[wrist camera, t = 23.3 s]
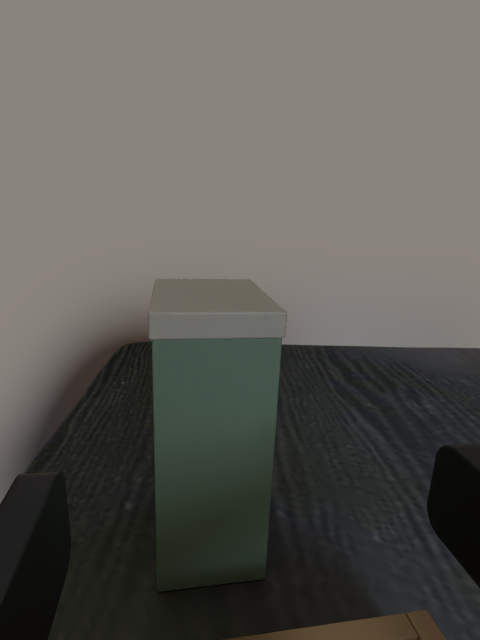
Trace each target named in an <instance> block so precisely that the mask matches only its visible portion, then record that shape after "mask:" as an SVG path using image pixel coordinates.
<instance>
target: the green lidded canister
mask: <svg viewBox="0 0 480 640" xmlns="http://www.w3.org/2000/svg"><path fill="white" fill-rule="evenodd" d="M286 319H287V313H286V311H285V310H284V309H282V308H281V307H280V306H279V305H278V304H277V303H276V302H275V301H274V300H272V299H271V298H270V297H269V296H268V295H267V294H266V293H265V292H263V291H262V290H261V289H260V288H259V287H258V286H257V285H256V284H254V283H253V282H252V281H251V280H228V279H227V280H226V279H225V280H224V279H156V280H155V284H154V288H153V293H152V298H151V303H150V308H149V313H148V327H149V328H148V329H149V339H150V340H152V370H153V417H154V465H155V512H156V559H157V591H158V592H163V591H171V590H179V589H187V588H195V587H204V586H212V585H220V584H228V583H236V582H244V581H253V580H261V579H265V574H266V560H267V545H268V531H269V516H270V502H271V488H272V473H273V459H274V444H275V430H276V415H277V401H278V387H279V372H280V358H281V342H282V338H284V337H285V333H286V332H285V331H286Z"/></svg>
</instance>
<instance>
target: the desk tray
mask: <svg viewBox="0 0 480 640" xmlns="http://www.w3.org/2000/svg"><path fill="white" fill-rule="evenodd" d="M223 640H446V639H445V638H444V636H443V634H442V633H441V631H440V630H439V628H438V627H437V625H436V623H435V622H434V620H433V619H432V617H431V616H430V614H429V613H428V611H427V610H419V611H412V612H406V614H405V613H401V614H394V615H387V616H380V617H374V618H367V619H360V620H353V621H346V622H339V623H332V624H326V625H319V626H312V627H305V628H298V629H291V630H284V631H277V632H271V633H264V634H257V635H250V636H243V637H236V638H229V639H223Z"/></svg>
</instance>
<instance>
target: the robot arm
mask: <svg viewBox="0 0 480 640" xmlns="http://www.w3.org/2000/svg"><path fill="white" fill-rule="evenodd" d="M427 511H428V517H429V520H430V523H431V526H432V528H433V530H434V531H435V533H436V534H437V536H438V537H439V538H440V539H441V541H442V542H443V543H444V544H445V546H446V547H447V548H448V549H449V550H450V552H451V553H452V554H453V555H454V557H455V558H456V559H457V560H458V562H459V563H460V564H461V565H462V566H463V568H464V569H465V570H466V571H467V573H468V574H469V575H470V576H471V578H472V579H473V580H474V581H475V583H476V584H477V585H478V586H479V587H480V445H479V444H461V445H446V446H442V447H441V448H440V449H439V450H438V452H437V454H436V459H435V464H434V470H433V475H432V480H431V486H430V491H429V496H428V502H427ZM70 548H71V535H70V524H69V514H68V504H67V493H66V483H65V477H64V474H63V472H62V471H59V472H44V473H30V474H20V475H18V476H17V477H16V478H15V480H14V482H13V483H12V485H11V487H10V489H9V490H8V492H7V494H6V495H5V497H4V499H3V501H2V502H1V504H0V640H48V637H49V633H50V630H51V626H52V623H53V620H54V616H55V613H56V609H57V606H58V602H59V599H60V595H61V592H62V588H63V585H64V581H65V578H66V574H67V570H68V565H69V559H70Z"/></svg>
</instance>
